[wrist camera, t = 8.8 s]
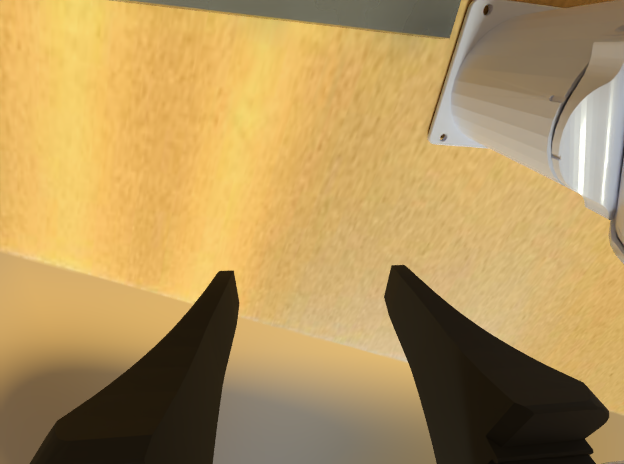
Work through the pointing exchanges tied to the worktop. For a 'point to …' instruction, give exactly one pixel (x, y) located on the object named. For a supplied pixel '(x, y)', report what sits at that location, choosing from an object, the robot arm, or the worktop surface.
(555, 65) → the robot arm
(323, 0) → the shaft mount
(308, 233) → the worktop surface
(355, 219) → the worktop surface
